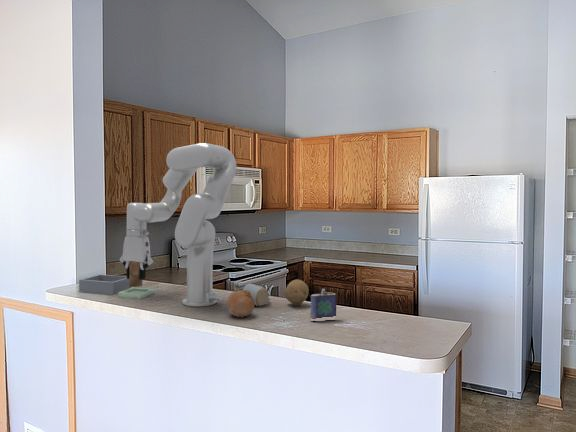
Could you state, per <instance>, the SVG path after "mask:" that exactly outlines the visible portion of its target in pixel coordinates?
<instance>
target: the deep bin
mask: <svg viewBox="0 0 576 432" xmlns="http://www.w3.org/2000/svg"><path fill="white" fill-rule="evenodd" d="M78 282H79V283H78V292H79V293H88V294H99V295H101V294H102V295H111V296H114V295H118V292H121V291H124V290H127V289H130V288H133V287H131V286H129V279H127V276H126V275H114V274H113V275H111V274H96V275H92V276H89V277H85V278H81V279H79V280H78Z"/></svg>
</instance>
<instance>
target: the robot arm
mask: <svg viewBox="0 0 576 432" xmlns="http://www.w3.org/2000/svg"><path fill="white" fill-rule="evenodd" d="M166 155H167V156H166V158H165V159H166V160H165V161H166V165H167V168H168V170H167V171H166V173H165V174H164V176H163V177H162V183H163V185H164V187H166V189H167V190H166V193H165V195H164V196H163V197H162V199H161V201H160V202H146V203H145V202H129V203H127V205H126V236H125V237H124V242H123V247H122V255H121V256H120V258H119V262H121V263H122V265H123V266H124V269H126V271H125V272H126V273H125V276H127V279H129V268H130V261H133V262H139V264H140V268H141V270H139V279H140V280H142V281H144V280H145V279H146V274H147V273H146V272H147V271H146V270H147V269H148V268H149V267H150V266H151V265H152V264H153V263H154V260H153V259H152V257H151V245H150V244H151V243H150V240H149V237H148V236H149V234H150V232H149V231H147V223H157V222H165V221H167V220H168V219H170V218H171V217H172V216H173V215H174V213H175V212H176V211H177V209H178V207H179V205H180V204H181V201H182V193H183V192H182V191H184V189H185V187H186V186H187V184H188V183H189V182H190V181H191V179H192V177H193V176H194V175H195V174H196V172H197V171H198V169H199V168H208V169H213V171H212V173H211V174H210V176H209V178H208V179H207V181H206V185H205V187H204V189H203V191H202V192H201V193H199V192H198V193H194V194H192V195H190V196H189V197H188V198H187V199H186V201H185V203H184V204H183V207H182V210H181V213H180V215H179V218H178V221H177V222H176V225H175V229H174V239H175V241H176V242H177V244H178V245H179V246H180V247H182V248H188V251H187V255H186V257H187V258H186V297H185V298H183V299H182V304H183V305H184V306H187V307H197V308H198V307H210V306H212V305H215V304H216V303H217V301H220V302H221V301H222V300H223V297H222V294H218V293H217V294H216V290H215V289H213V275H214V273H213V270H214V269H213V268H214V267H213V266H214V265H213V262H214V261H213V260H214V246H215V245H214V244H215V240H216V228H215V226H214V225H213V224H212V223H211V221H209V220H212V219H215V218H217V217H218V216H219V215H220V214H221V212H222V210H223V206H224V204H225V202H226V199H227V196H228V194H229V191H230V188H231V186H232V184H233V182H234V178H235V176H236V174H237V161H236V158H235V156H234V154H233V152H232V151H230V150H229V149H228V148H226V147H225V146H221V145H218V144H212V143H209V142H207V143H206V142H200V143H194V144H189V145H184V146H179V147H175V148H172V149H171V150H170V151H169V152H168V154H166Z"/></svg>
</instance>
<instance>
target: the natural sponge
mask: <svg viewBox="0 0 576 432" xmlns="http://www.w3.org/2000/svg"><path fill="white" fill-rule="evenodd" d="M309 291H310V289H309V286H308V285H307V283H306V282H305V281H303V280H301V279H294V280H291V281H290V282H289V283H288V284H287V285H286V287H285V291H284V296H285V299H286V300H287V301H288V302H290V303H291V304H292V305H293V304H294V306H296V305H298V306H300V305H302V304H303V303H304V302H305V301H306V300H307V298H308V296H309V294H310V293H309ZM299 304H300V305H299Z"/></svg>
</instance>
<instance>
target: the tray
mask: <svg viewBox="0 0 576 432" xmlns="http://www.w3.org/2000/svg"><path fill="white" fill-rule="evenodd" d="M154 294H155V289H154V288H146V287H145V288H142V287H141V288H140V287H132V288H130V289H127V290H124V291H121V292H118V293H117V297H118V298H122V299H123V298H125V299H136V300H142V299H145V298H147V297H149V296H152V295H154Z"/></svg>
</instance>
